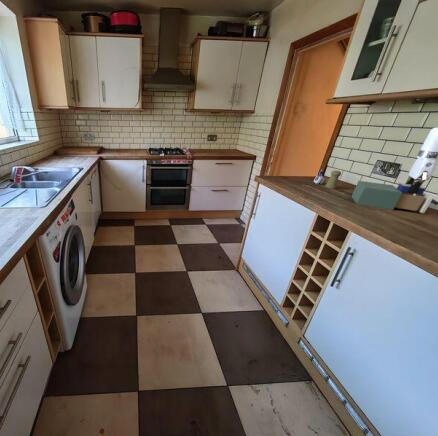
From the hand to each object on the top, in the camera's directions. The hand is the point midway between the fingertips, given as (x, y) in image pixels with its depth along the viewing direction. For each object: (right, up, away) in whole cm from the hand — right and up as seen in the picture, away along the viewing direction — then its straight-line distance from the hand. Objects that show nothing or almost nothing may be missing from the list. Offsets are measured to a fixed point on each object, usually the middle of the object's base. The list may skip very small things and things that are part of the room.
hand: (409, 190), depth 116 cm
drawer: (+1, -8, +3) cm, 9 cm away
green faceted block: (-11, -5, +9) cm, 15 cm away
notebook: (0, 0, 0) cm, 1 cm away
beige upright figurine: (-12, +7, +35) cm, 37 cm away
